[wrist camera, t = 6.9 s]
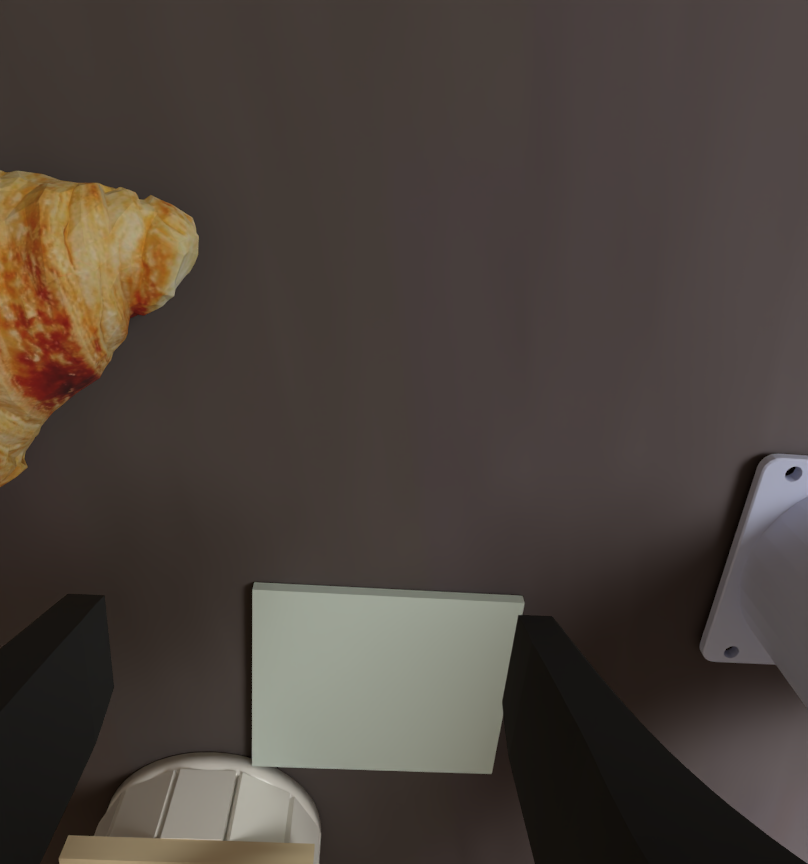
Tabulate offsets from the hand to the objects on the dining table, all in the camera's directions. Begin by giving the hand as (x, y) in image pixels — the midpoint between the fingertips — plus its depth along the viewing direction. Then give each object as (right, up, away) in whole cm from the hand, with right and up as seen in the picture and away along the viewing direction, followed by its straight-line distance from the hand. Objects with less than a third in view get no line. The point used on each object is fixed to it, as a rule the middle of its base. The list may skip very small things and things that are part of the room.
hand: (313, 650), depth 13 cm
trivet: (+1, -5, +13) cm, 14 cm away
